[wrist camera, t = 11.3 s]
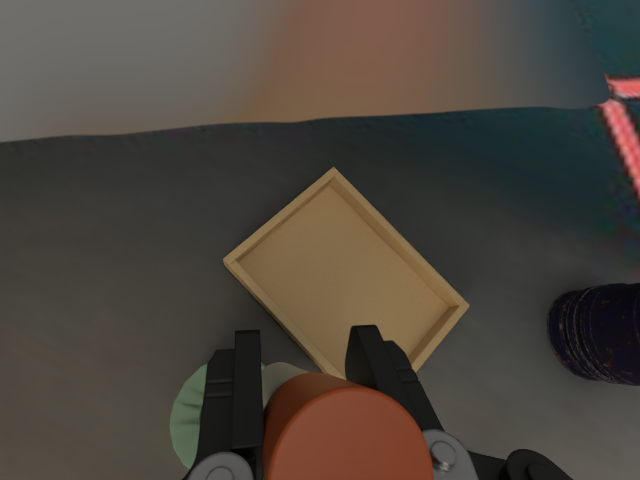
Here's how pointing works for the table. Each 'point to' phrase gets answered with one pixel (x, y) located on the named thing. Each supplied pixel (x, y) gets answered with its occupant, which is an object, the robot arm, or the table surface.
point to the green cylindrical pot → (189, 416)
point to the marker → (336, 430)
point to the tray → (344, 277)
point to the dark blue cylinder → (598, 332)
